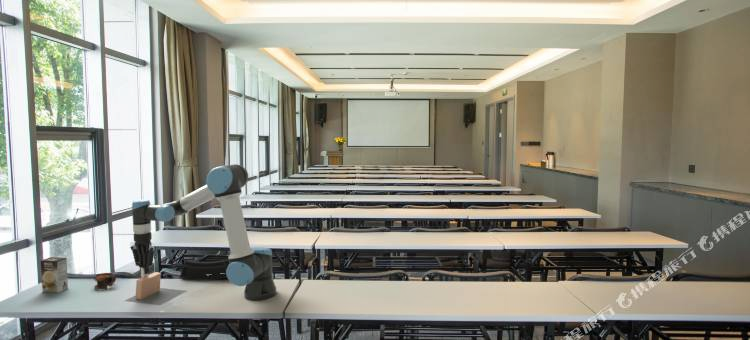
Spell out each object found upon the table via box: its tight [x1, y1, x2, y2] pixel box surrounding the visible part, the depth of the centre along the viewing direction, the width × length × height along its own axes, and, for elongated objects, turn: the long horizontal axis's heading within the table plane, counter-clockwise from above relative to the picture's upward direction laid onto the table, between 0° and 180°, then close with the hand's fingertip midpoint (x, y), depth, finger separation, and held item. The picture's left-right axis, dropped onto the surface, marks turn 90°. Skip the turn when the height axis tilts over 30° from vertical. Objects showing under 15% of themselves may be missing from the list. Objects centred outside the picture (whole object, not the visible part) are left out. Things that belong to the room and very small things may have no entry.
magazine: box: [179, 258, 229, 281], centre depth 227 cm, size 17×3×30 cm
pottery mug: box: [93, 272, 117, 291], centre depth 216 cm, size 12×10×8 cm
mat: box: [124, 287, 187, 306], centre depth 202 cm, size 20×18×1 cm
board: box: [135, 271, 162, 300], centre depth 203 cm, size 3×12×9 cm, turn 166°
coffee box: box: [40, 256, 69, 294], centre depth 210 cm, size 9×6×16 cm
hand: (144, 280), depth 203 cm, fingers closed
